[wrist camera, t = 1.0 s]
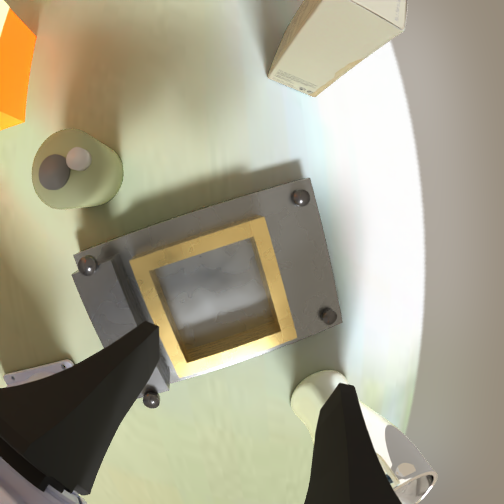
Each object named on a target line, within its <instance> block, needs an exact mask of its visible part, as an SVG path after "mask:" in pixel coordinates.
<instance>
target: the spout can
mask: <svg viewBox="0 0 504 504" xmlns="http://www.w3.org/2000/svg"><path fill="white" fill-rule="evenodd" d="M122 181H123V165H122V162H121V160H120V158H119V156H118V155H117V154H116V152H115V151H113V150H112V149H111V148H109V147H107V146H106V145H104V144H103V143H101V142H99V141H98V140H96V139H95V138H93V137H91V136H90V135H88V134H87V133H85V132H83V131H81V130H78V129H64V130H60V131H58V132H56V133H54V134H52V135H51V136H50V137H48V138H47V139H46V140H45V141H44V143H43V144H42V145H41V146H40V148H39V150H38V151H37V153H36V156H35V158H34V162H33V166H32V182H33V186H34V189H35V191H36V193H37V195H38V197H39V198H40V199H41V201H43V202H44V203H45V204H46V205H48V206H50V207H52V208H55V209H73V208H82V207H92V206H99V205H103V204H105V203H107V202H108V201H110V200H111V199H112V198H113V197H114V196H115V195H116V194H117V192H118V191H119V189H120V187H121V184H122Z"/></svg>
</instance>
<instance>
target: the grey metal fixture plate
mask: <svg viewBox="0 0 504 504" xmlns="http://www.w3.org/2000/svg"><path fill="white" fill-rule="evenodd" d="M74 258H75V261H76V264H77V267H78V269H79V270H77V271H76V272H74V273H73V274H72V277H73V279H74V282H75V285H76V287H77V290H78V292H79V294H80V297H81V299H82V302H83V304H84V306H85V309H86V311H87V313H88V315H89V318H90V320H91V322H92V324H93V326H94V328H95V330H96V333H97V335H98V337H99V339H100V341H101V343H102V345H103V347H104V348H106V347H107V346H109V345H110V344H112V343H113V342H115V341H116V340H118V339H119V338H121V337H122V336H124V335H125V334H127V333H128V332H130V331H131V330H132V329H134V328H135V327H137V326H138V325H139V324H141V323H142V322H144V321H148V322H150V323H153V324H155V325H157V326H159V350H160V359H159V361H158V363H157V365H156V367H155V369H154V371H153V373H152V375H151V377H150V379H149V381H148V382H147V384H146V385H145V387H144V388H143V390H142V391H141V393H140V394H139V396H138V397H137V398H141V397H143V403H144V405H145V406H147V407H149V408H156V407H158V406H159V402H160V396H159V394H158V393H161V392H165V391H169V385H170V383H174V382H177V381H181V380H184V379H188V378H191V377H195V376H198V375H201V374H205V373H208V372H211V371H214V370H217V369H221V368H224V367H227V366H230V365H233V364H236V363H239V362H242V361H245V360H247V359H250V358H253V357H256V356H259V355H262V354H264V353H267V352H270V351H273V350H275V349H278V348H281V347H283V346H286V345H288V344H291V343H294V342H296V341H299V340H301V339H304V338H306V337H309V336H311V335H314V334H316V333H318V332H321V331H323V330H326V329H328V328H330V327H333V326H335V325H337V324H340V323H342V317H341V312H340V306H339V301H338V296H337V291H336V286H335V281H334V276H333V272H332V267H331V262H330V258H329V253H328V249H327V244H326V240H325V236H324V232H323V227H322V223H321V219H320V215H319V211H318V207H317V203H316V199H315V195H314V192H313V188H312V184H311V180H310V178H306V179H301V180H297V181H293V182H290V183H286V184H282V185H279V186H275V187H272V188H268V189H265V190H261V191H258V192H254V193H251V194H248V195H244V196H241V197H238V198H234V199H231V200H228V201H224V202H221V203H218V204H215V205H212V206H208V207H205V208H202V209H199V210H196V211H193V212H190V213H187V214H184V215H181V216H178V217H175V218H172V219H169V220H166V221H163V222H160V223H157V224H154V225H151V226H148V227H145V228H143V229H140V230H137V231H134V232H131V233H129V234H126V235H123V236H120V237H117V238H115V239H112V240H109V241H107V242H104V243H101V244H99V245H96V246H93V247H91V248H88V249H86V250H83V251H80V252H78V253H77V254H75V255H74Z"/></svg>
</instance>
